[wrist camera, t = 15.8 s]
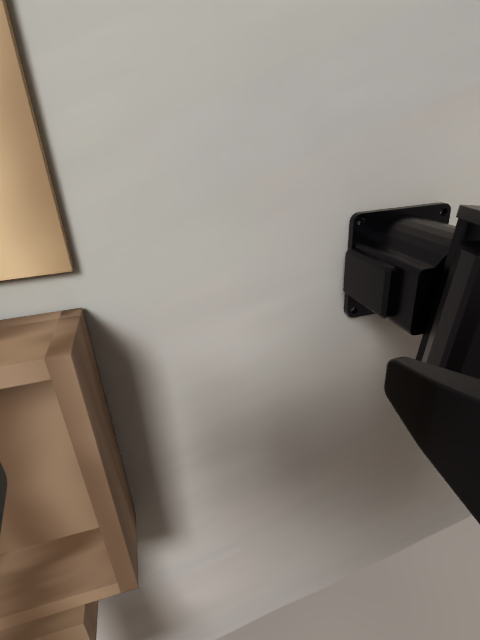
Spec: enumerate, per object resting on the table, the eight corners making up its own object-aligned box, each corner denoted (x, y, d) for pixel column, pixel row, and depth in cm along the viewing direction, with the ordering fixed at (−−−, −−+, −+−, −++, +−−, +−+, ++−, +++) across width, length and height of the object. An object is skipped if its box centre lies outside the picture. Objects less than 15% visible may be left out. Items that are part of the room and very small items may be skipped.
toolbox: (82, 307, 20) (67, 366, 15) (143, 542, 28) (147, 634, 23) (-170, 345, 18) (-294, 432, 12) (-23, 590, 26) (-60, 703, 21)
